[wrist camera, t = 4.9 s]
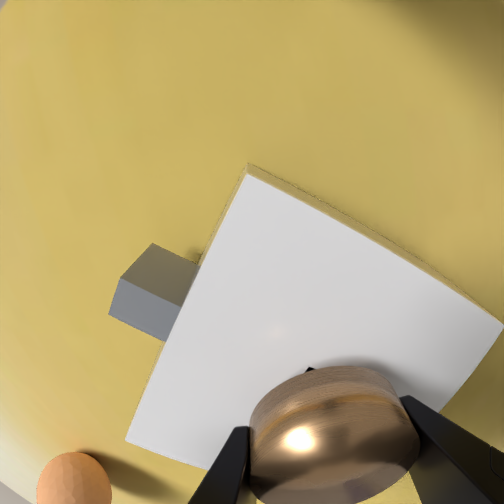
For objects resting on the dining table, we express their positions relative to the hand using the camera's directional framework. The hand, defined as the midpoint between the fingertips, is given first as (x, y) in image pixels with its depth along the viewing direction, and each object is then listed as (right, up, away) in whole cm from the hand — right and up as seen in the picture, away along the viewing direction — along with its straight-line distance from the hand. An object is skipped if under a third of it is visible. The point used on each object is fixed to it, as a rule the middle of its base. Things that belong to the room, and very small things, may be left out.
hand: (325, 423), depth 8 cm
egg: (-15, -12, +12) cm, 22 cm away
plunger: (0, +2, +6) cm, 7 cm away
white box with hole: (0, +2, +7) cm, 7 cm away
